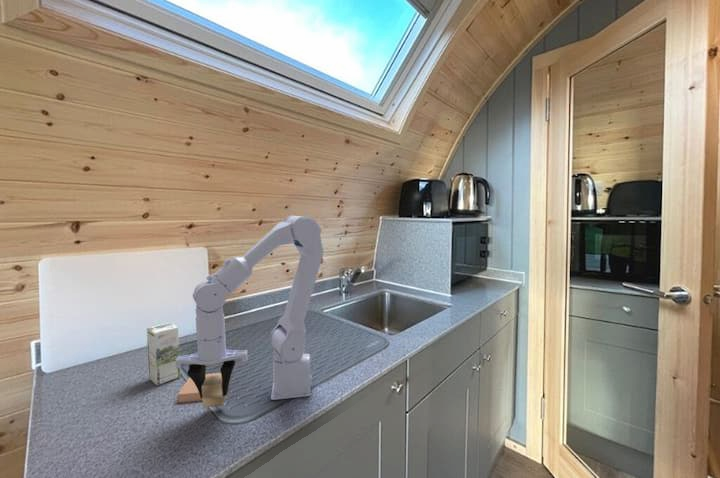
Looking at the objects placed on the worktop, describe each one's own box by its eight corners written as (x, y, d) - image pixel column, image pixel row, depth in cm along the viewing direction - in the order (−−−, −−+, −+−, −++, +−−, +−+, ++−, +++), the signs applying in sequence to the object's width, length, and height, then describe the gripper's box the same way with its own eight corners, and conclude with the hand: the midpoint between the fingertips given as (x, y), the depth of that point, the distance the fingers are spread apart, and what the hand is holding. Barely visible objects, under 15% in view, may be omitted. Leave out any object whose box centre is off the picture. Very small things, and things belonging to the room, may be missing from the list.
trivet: (227, 381, 87) (226, 372, 87) (218, 400, 78) (218, 390, 78) (191, 384, 85) (190, 375, 85) (178, 404, 77) (177, 394, 76)
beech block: (226, 395, 75) (225, 374, 75) (222, 405, 71) (221, 384, 71) (208, 397, 74) (206, 376, 74) (202, 407, 70) (201, 385, 70)
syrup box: (172, 371, 92) (169, 321, 90) (181, 378, 88) (178, 326, 86) (149, 379, 87) (145, 327, 86) (157, 387, 83) (154, 332, 82)
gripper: (248, 326, 76) (251, 381, 78) (182, 331, 74) (186, 388, 75) (243, 338, 70) (246, 398, 71) (170, 344, 67) (174, 406, 68)
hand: (214, 394), depth 73 cm, fingers closed on beech block, 4 cm apart
